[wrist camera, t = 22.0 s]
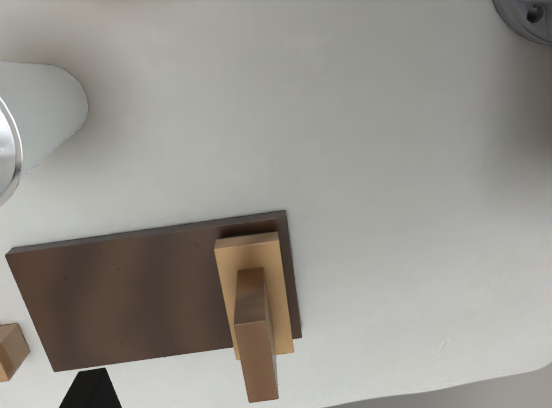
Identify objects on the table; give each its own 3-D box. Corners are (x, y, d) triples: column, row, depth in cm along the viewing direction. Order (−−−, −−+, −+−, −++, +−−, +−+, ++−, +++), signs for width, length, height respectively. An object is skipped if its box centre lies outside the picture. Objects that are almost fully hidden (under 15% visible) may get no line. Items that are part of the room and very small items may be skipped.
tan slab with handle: (277, 224, 41) (285, 289, 30) (291, 330, 46) (302, 418, 35) (216, 232, 41) (204, 300, 30) (237, 337, 46) (232, 428, 35)
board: (285, 210, 42) (286, 215, 41) (300, 329, 48) (302, 338, 46) (12, 247, 42) (4, 255, 41) (59, 362, 48) (53, 372, 46)
